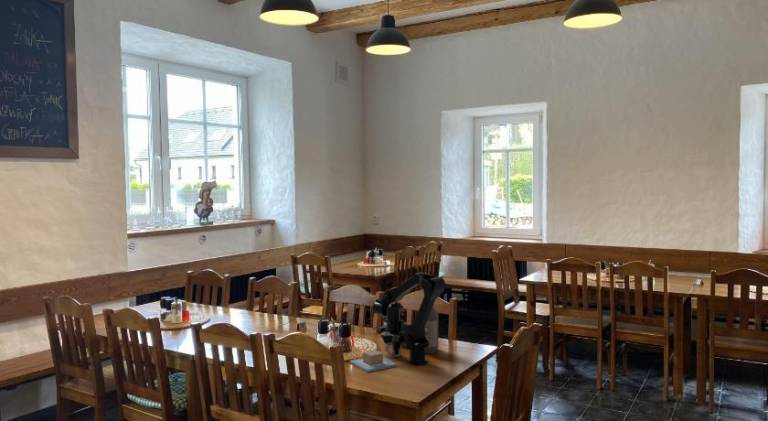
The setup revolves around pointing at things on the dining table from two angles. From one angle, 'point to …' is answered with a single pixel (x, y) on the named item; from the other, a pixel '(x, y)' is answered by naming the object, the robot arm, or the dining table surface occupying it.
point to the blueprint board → (368, 369)
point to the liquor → (431, 331)
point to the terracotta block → (391, 350)
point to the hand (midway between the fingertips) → (393, 353)
